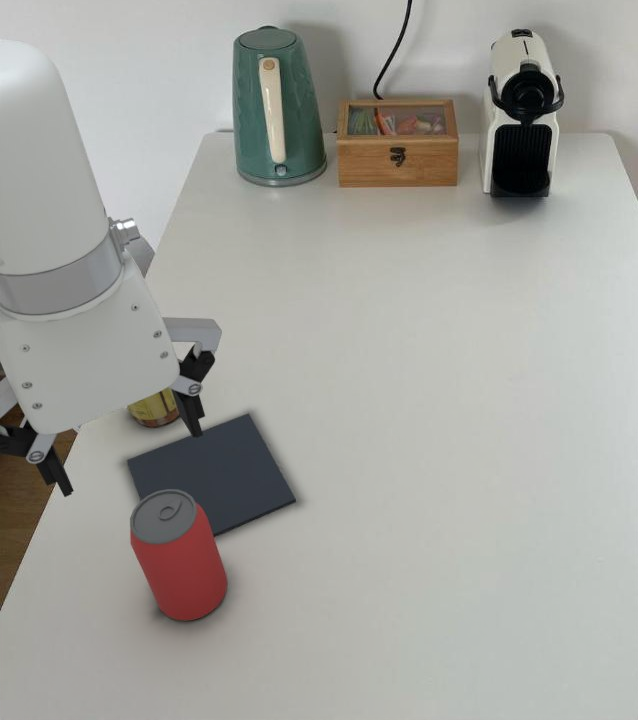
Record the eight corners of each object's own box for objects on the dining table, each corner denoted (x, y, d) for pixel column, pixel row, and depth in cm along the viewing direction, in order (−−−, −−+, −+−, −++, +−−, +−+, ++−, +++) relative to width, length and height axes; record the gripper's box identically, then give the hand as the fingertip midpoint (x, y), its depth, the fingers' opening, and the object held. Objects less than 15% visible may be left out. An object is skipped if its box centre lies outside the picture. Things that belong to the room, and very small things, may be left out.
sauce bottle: (170, 383, 97) (126, 245, 83) (196, 411, 93) (154, 272, 80) (119, 409, 94) (65, 271, 81) (144, 440, 90) (91, 300, 77)
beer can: (243, 580, 77) (219, 502, 69) (196, 636, 73) (165, 560, 65) (190, 551, 79) (161, 472, 71) (142, 603, 75) (106, 527, 67)
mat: (163, 558, 79) (162, 556, 79) (127, 462, 88) (126, 459, 88) (296, 501, 83) (295, 498, 83) (249, 415, 93) (248, 413, 92)
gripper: (170, 191, 53) (219, 377, 65) (-114, 283, 47) (-3, 472, 59) (214, 244, 49) (258, 435, 60) (-95, 354, 42) (21, 545, 54)
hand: (129, 453), depth 59 cm, fingers open, 9 cm apart
